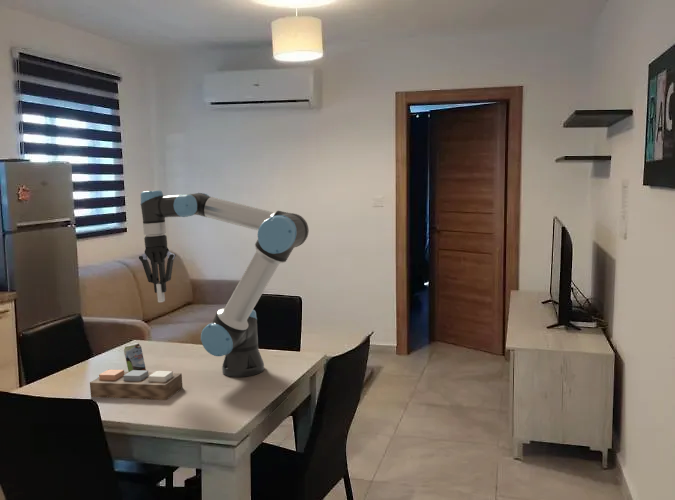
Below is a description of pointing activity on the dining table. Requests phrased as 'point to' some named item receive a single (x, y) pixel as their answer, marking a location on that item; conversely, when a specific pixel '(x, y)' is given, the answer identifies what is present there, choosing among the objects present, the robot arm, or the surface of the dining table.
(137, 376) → the slate key
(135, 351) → the beverage can
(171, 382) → the console
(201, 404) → the dining table surface
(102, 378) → the terracotta key
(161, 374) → the offwhite key
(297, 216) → the robot arm
